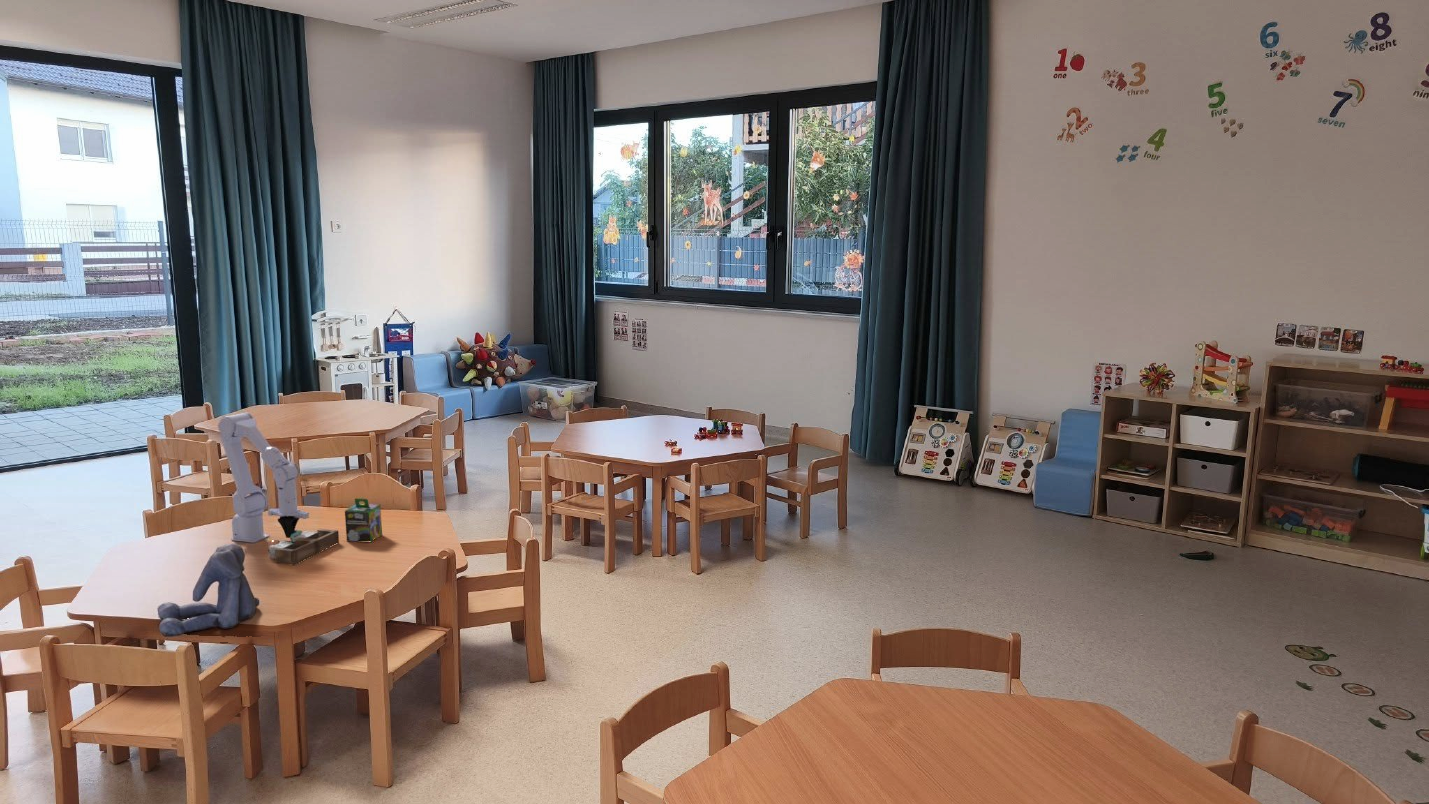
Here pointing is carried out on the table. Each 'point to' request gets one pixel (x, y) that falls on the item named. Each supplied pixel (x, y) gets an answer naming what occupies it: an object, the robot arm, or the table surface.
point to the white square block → (280, 546)
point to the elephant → (231, 602)
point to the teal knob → (303, 535)
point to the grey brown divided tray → (307, 547)
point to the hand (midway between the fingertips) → (289, 537)
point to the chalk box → (363, 521)
